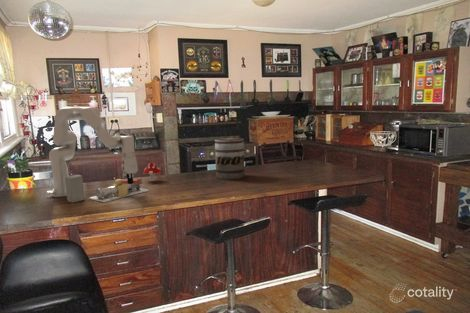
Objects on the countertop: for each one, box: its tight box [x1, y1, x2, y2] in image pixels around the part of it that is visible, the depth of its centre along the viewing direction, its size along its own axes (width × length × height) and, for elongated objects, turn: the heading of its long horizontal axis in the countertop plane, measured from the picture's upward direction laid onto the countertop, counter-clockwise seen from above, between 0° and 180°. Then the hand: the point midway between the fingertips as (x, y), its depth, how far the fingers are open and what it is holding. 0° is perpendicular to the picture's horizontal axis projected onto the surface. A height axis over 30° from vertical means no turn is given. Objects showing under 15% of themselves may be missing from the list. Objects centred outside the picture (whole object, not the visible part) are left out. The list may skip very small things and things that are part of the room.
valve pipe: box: [88, 183, 149, 203], centre depth 234 cm, size 34×16×7 cm, turn 143°
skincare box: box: [65, 174, 85, 204], centre depth 221 cm, size 8×7×16 cm
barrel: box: [214, 137, 246, 181], centre depth 282 cm, size 22×22×30 cm
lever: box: [114, 177, 143, 185], centre depth 233 cm, size 17×4×3 cm, turn 88°
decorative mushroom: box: [142, 161, 162, 182], centre depth 274 cm, size 14×14×15 cm
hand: (130, 183), depth 231 cm, fingers closed
